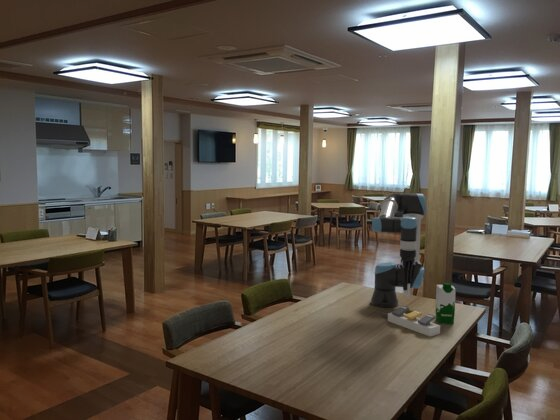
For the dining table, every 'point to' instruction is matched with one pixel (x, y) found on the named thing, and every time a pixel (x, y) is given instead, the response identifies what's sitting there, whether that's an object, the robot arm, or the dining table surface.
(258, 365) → the dining table surface
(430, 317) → the plate
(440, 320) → the milk carton
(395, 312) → the block
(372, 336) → the dining table surface
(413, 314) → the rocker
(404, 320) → the rocker switch panel
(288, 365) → the dining table surface
